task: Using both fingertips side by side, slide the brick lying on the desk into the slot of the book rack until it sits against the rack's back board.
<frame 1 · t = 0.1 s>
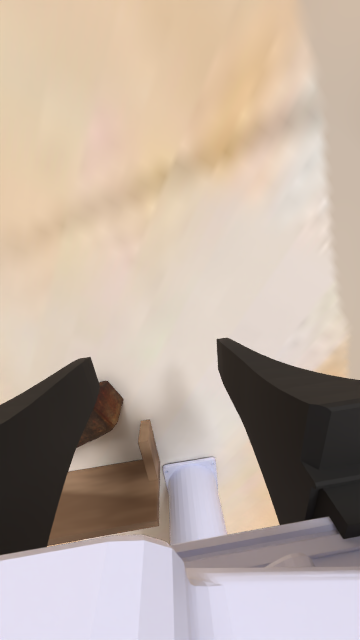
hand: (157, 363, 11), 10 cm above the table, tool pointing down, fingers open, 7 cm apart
book rack: (103, 468, 28), on the table
brick: (81, 404, 24), on the table
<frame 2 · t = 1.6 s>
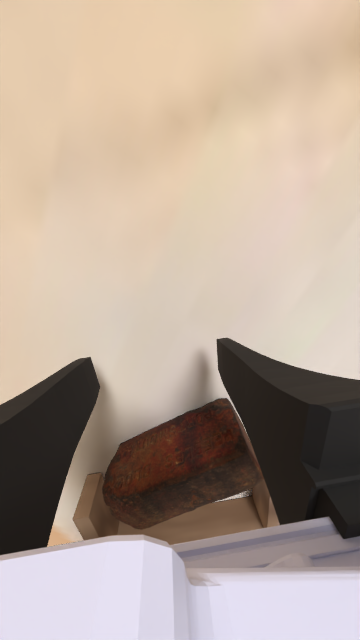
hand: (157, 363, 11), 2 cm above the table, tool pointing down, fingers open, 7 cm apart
book rack: (187, 510, 20), on the table
brick: (177, 430, 17), on the table
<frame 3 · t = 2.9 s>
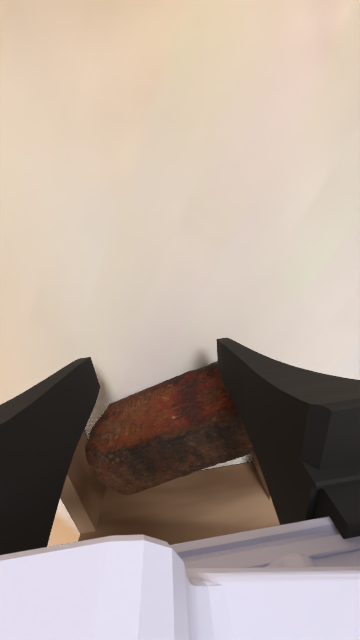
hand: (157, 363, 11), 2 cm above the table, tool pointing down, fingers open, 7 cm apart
book rack: (181, 478, 18), on the table
brick: (174, 395, 15), on the table, touching gripper
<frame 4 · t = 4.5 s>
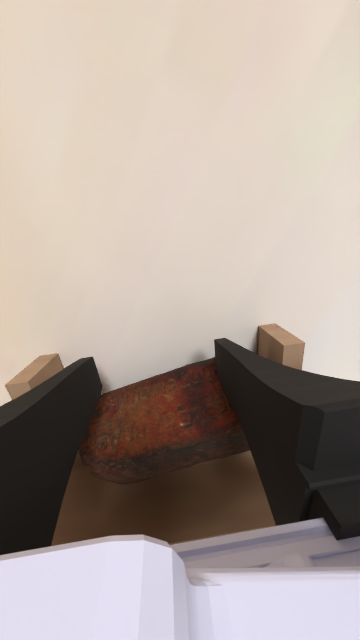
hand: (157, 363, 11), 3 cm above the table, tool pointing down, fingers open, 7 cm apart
book rack: (174, 425, 16), on the table
brick: (171, 382, 14), on the table, touching book rack, gripper
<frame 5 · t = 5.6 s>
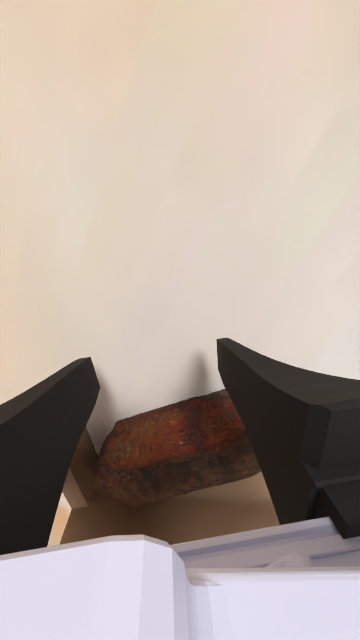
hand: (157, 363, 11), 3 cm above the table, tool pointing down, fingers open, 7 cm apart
book rack: (177, 456, 18), on the table
brick: (177, 416, 16), on the table
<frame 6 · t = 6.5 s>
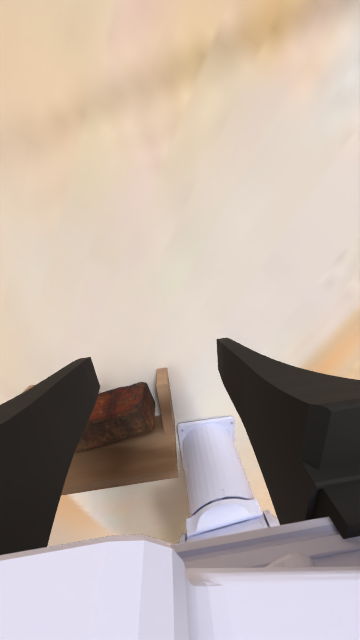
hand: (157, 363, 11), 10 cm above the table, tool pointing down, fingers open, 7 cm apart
book rack: (113, 425, 26), on the table
brick: (112, 400, 25), on the table
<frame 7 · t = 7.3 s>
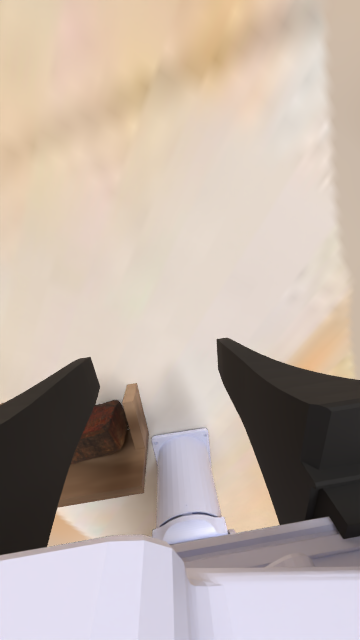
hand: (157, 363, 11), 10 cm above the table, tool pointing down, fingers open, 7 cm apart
book rack: (88, 439, 26), on the table
brick: (87, 417, 25), on the table
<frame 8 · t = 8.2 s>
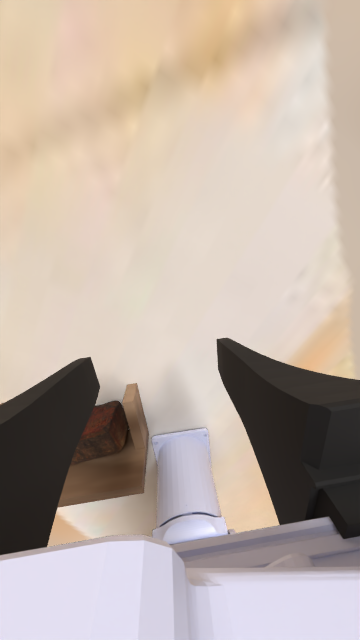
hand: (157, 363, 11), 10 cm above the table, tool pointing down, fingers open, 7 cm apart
book rack: (88, 439, 26), on the table
brick: (87, 417, 25), on the table
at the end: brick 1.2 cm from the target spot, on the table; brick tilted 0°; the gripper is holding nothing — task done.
